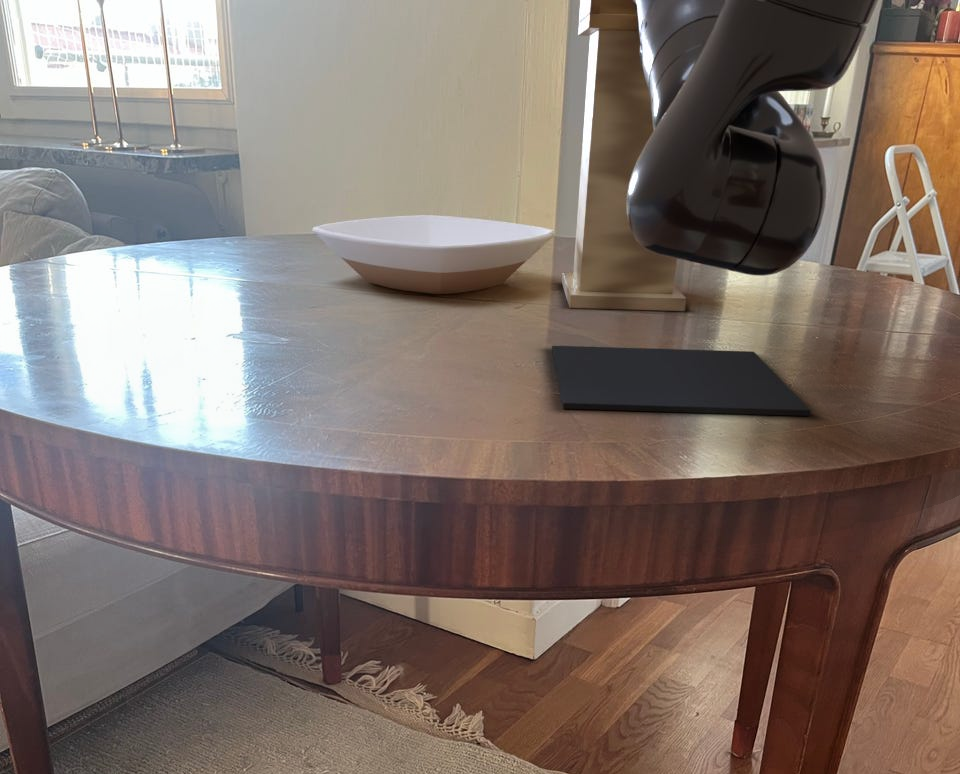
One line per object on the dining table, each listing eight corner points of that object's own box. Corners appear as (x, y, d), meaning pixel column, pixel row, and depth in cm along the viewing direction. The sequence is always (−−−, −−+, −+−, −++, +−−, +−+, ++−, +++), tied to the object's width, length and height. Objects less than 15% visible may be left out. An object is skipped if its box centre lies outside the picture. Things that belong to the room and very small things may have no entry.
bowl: (446, 311, 88) (446, 250, 85) (288, 281, 99) (284, 226, 96) (577, 283, 102) (581, 230, 100) (426, 260, 114) (426, 212, 111)
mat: (753, 356, 75) (754, 351, 75) (809, 416, 62) (810, 410, 61) (551, 350, 76) (552, 345, 75) (563, 408, 62) (563, 402, 61)
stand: (664, 286, 102) (698, -6, 89) (684, 311, 91) (727, -20, 78) (561, 283, 102) (580, -9, 89) (569, 307, 91) (592, -24, 78)
